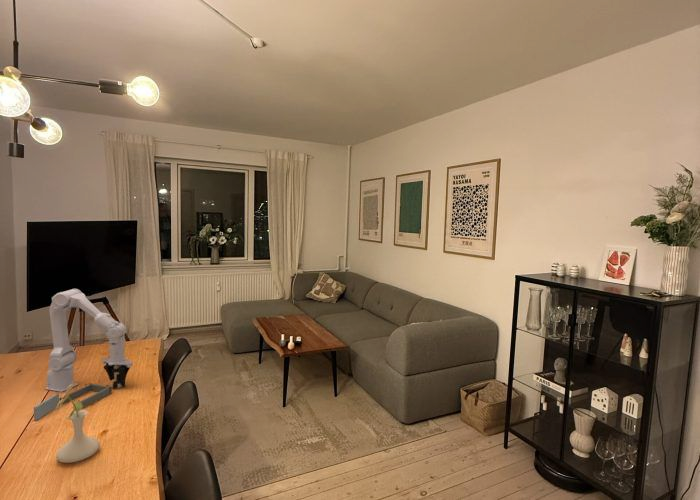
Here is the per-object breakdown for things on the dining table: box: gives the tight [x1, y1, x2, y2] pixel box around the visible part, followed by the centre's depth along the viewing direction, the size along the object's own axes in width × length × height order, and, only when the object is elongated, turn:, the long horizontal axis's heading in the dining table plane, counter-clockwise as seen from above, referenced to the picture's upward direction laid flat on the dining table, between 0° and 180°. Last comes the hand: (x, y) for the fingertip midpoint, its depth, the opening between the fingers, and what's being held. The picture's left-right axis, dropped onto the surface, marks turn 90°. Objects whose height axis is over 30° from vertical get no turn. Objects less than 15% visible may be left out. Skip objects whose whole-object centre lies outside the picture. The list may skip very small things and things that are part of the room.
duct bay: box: [59, 383, 113, 410], centre depth 154 cm, size 11×14×3 cm
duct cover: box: [33, 392, 60, 421], centre depth 142 cm, size 12×1×5 cm, turn 2°
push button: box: [108, 365, 126, 389], centre depth 165 cm, size 7×5×10 cm
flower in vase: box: [54, 384, 101, 464], centre depth 116 cm, size 13×11×25 cm
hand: (117, 380), depth 165 cm, fingers closed on push button, 5 cm apart
